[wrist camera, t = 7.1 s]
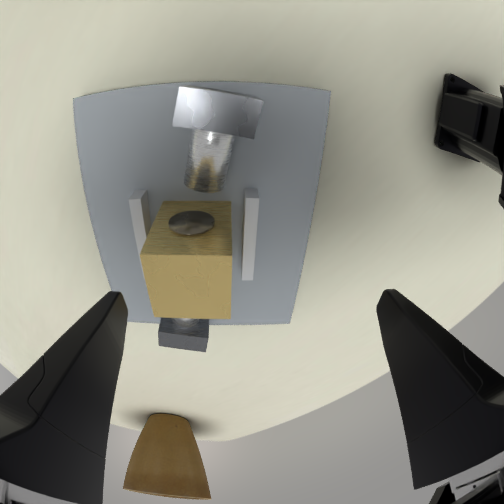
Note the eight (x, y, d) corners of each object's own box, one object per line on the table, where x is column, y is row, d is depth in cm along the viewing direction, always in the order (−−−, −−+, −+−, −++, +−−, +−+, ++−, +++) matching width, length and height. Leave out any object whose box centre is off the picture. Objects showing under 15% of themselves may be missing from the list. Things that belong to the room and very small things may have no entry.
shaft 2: (236, 182, 17) (238, 204, 15) (174, 172, 16) (163, 192, 14) (257, 96, 14) (263, 100, 12) (189, 85, 13) (179, 86, 11)
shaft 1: (165, 270, 21) (157, 300, 18) (215, 278, 22) (214, 308, 19) (163, 317, 24) (158, 345, 21) (206, 323, 25) (205, 352, 22)
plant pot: (121, 416, 43) (113, 487, 30) (148, 397, 37) (140, 490, 24) (185, 435, 49) (185, 500, 36) (225, 419, 43) (229, 500, 30)
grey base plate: (324, 90, 15) (339, 92, 13) (287, 314, 27) (292, 335, 24) (81, 96, 14) (61, 101, 11) (125, 312, 25) (119, 333, 23)
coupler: (229, 258, 21) (230, 320, 16) (169, 257, 20) (154, 318, 15) (231, 199, 18) (232, 253, 13) (163, 198, 17) (139, 252, 13)
